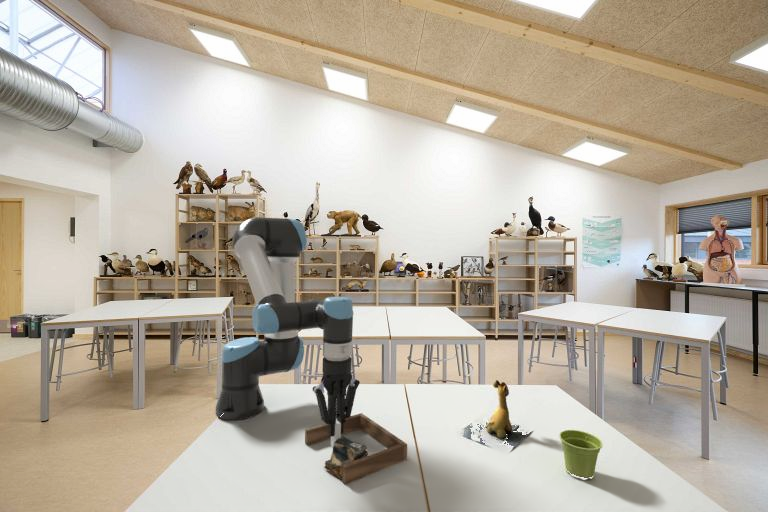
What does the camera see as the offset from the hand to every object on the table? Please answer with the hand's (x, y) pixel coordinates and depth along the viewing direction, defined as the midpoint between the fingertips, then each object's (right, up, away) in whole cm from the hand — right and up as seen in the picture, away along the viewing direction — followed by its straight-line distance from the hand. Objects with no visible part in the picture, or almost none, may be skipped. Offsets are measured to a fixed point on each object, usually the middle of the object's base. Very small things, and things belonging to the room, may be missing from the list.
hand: (335, 446), depth 98 cm
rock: (+3, -3, -5) cm, 6 cm away
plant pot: (+61, -4, -5) cm, 61 cm away
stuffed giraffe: (+46, -4, +15) cm, 49 cm away
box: (+4, -3, +3) cm, 6 cm away
